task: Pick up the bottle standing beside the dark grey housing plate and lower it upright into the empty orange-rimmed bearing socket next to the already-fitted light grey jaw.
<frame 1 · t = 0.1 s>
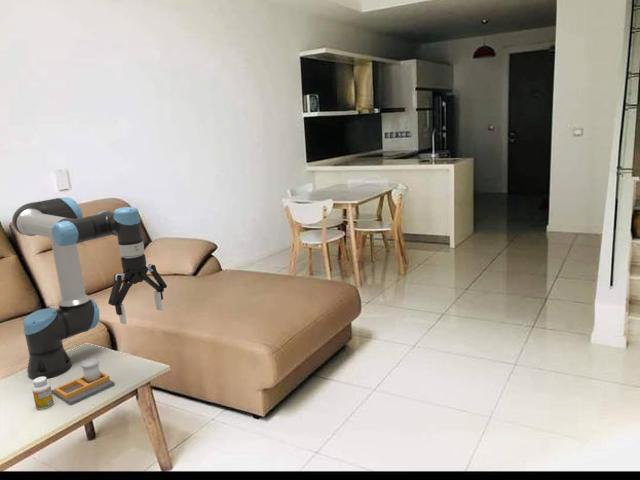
hand: (142, 316, 174), 28 cm above the table, fingers open, 13 cm apart
housing: (83, 389, 186), on the table
supplement bottle: (45, 405, 177), on the table
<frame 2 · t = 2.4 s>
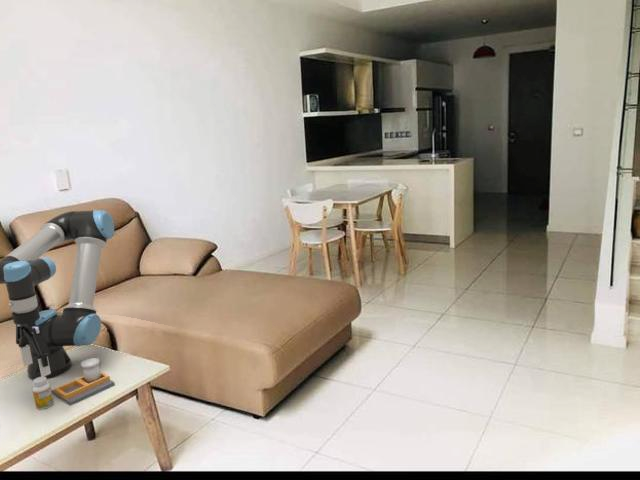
hand: (36, 369, 173), 13 cm above the table, fingers open, 13 cm apart
nothing on the table moved.
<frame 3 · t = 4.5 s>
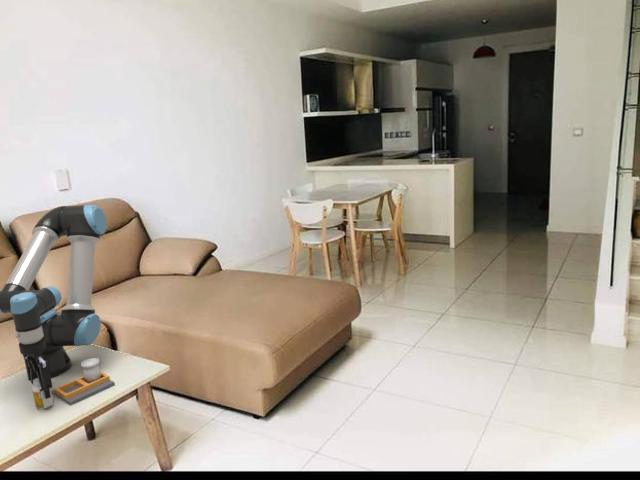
hand: (44, 403, 176), 1 cm above the table, fingers closed on supplement bottle, 5 cm apart
supplement bottle: (45, 405, 177), on the table, touching gripper
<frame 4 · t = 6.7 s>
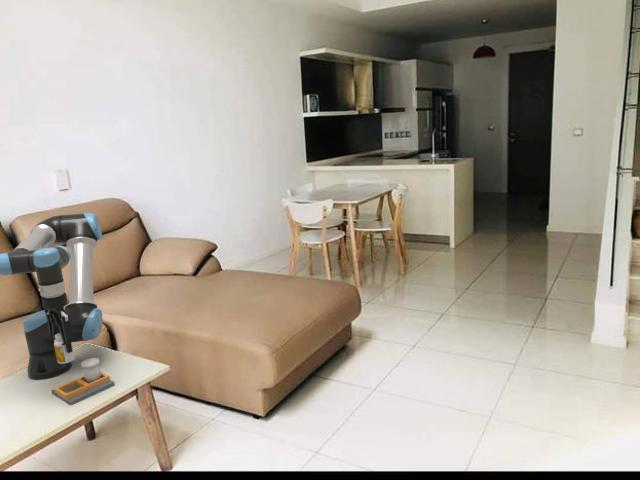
hand: (65, 358, 179), 14 cm above the table, fingers closed on supplement bottle, 5 cm apart
supplement bottle: (66, 361, 179), point 13 cm above the table, touching gripper
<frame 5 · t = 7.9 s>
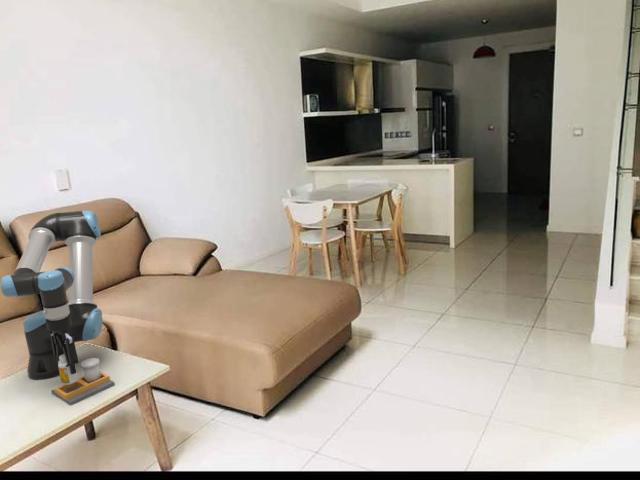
hand: (69, 379, 181), 6 cm above the table, fingers closed on supplement bottle, 5 cm apart
supplement bottle: (70, 381, 181), point 5 cm above the table, touching gripper
when the fingers open (4 cm above the table, at t = 9.0 s): supplement bottle drops 2 cm, resting on housing.
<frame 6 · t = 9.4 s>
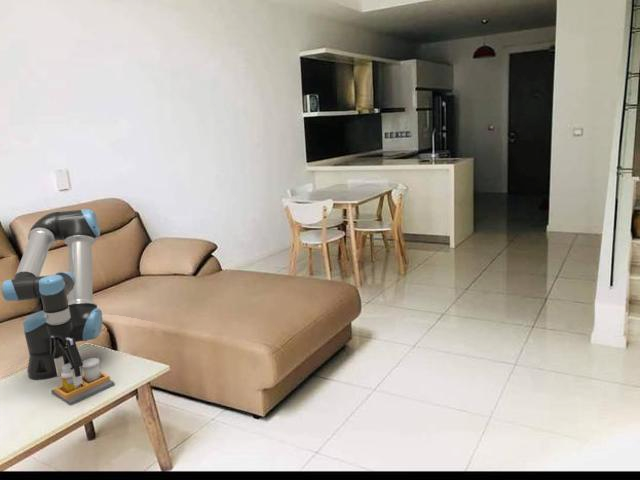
hand: (70, 379, 181), 6 cm above the table, fingers open, 11 cm apart
supplement bottle: (72, 391, 182), point 1 cm above the table, touching housing
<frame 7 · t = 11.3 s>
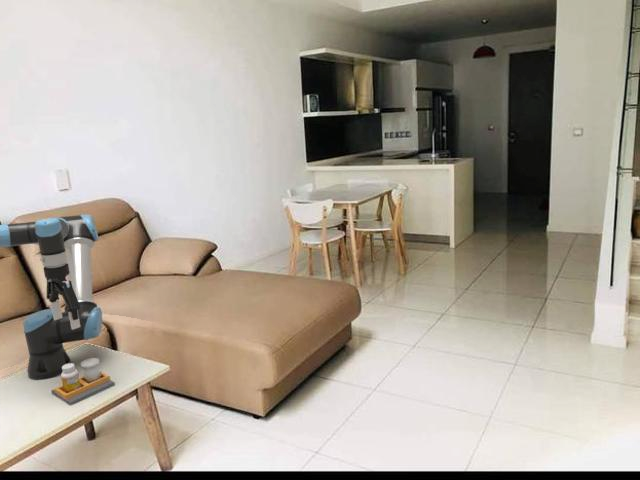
hand: (67, 323, 180), 25 cm above the table, fingers open, 13 cm apart
nothing on the table moved.
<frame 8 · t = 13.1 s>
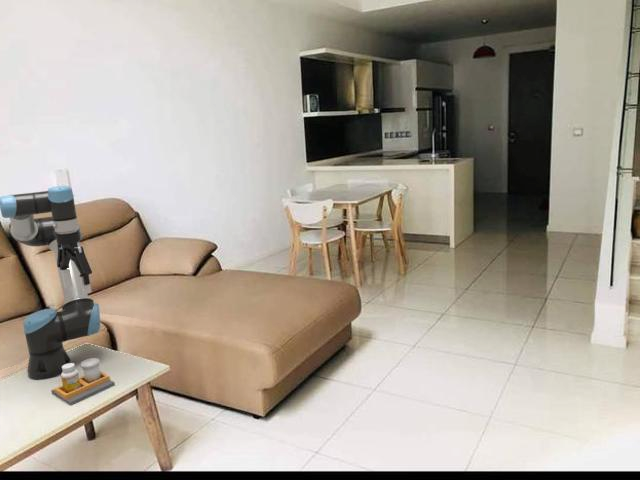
hand: (77, 290, 184), 35 cm above the table, fingers open, 13 cm apart
nothing on the table moved.
at the end: supplement bottle 0.2 cm from the target spot on the housing, point 1.0 cm above the housing's base; supplement bottle tilted 1°; the gripper is holding nothing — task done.
